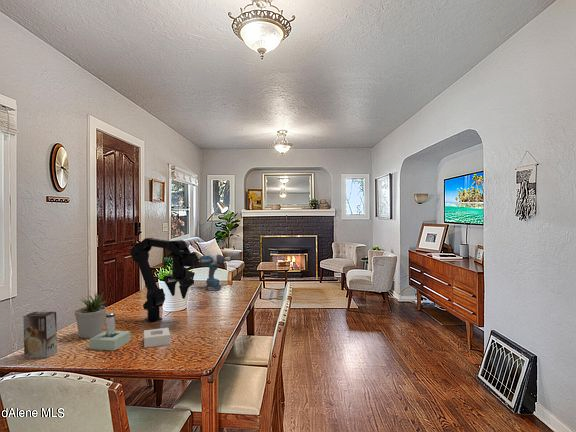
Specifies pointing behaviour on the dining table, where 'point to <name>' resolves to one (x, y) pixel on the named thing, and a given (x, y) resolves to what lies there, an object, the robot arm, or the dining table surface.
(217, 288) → the impact wrench
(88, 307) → the potted plant
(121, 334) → the block
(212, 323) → the dining table surface
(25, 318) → the coffee box
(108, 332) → the metal cylinder
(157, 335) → the socket block
